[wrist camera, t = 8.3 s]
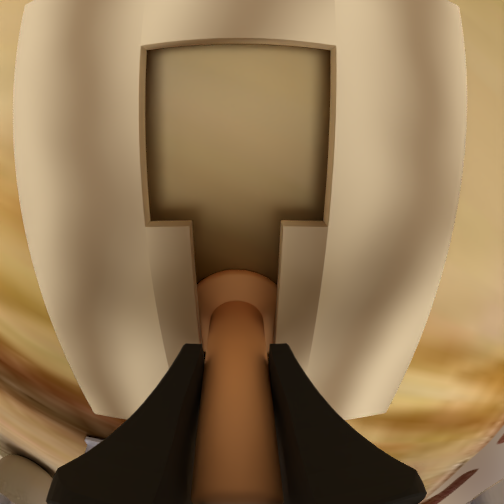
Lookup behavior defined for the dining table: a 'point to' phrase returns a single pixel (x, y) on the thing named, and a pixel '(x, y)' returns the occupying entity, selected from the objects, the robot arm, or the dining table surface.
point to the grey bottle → (23, 480)
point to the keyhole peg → (236, 393)
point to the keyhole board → (291, 231)
